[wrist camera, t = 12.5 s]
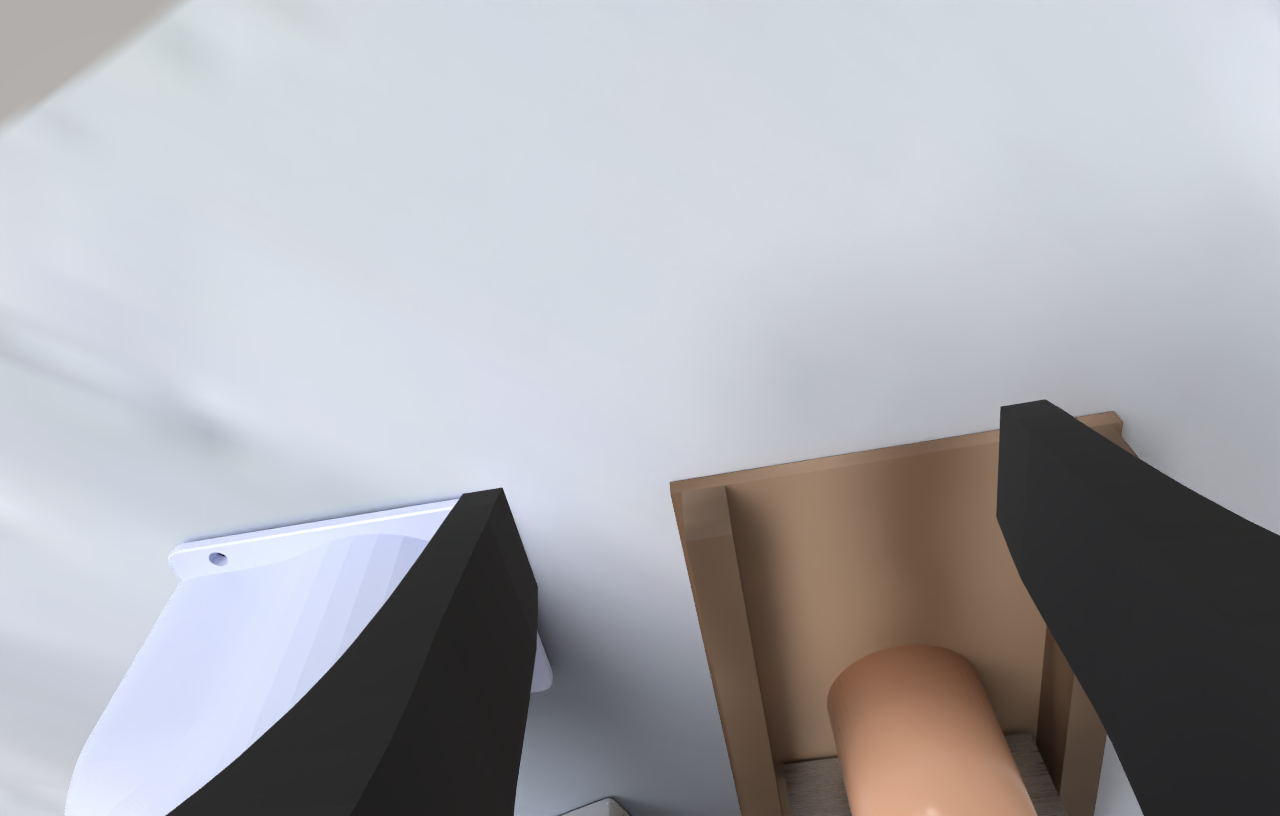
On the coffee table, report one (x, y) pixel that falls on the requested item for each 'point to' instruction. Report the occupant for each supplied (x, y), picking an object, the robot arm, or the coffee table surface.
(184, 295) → the coffee table surface
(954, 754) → the jar
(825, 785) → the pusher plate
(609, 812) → the coffee box
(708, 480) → the pusher lane
